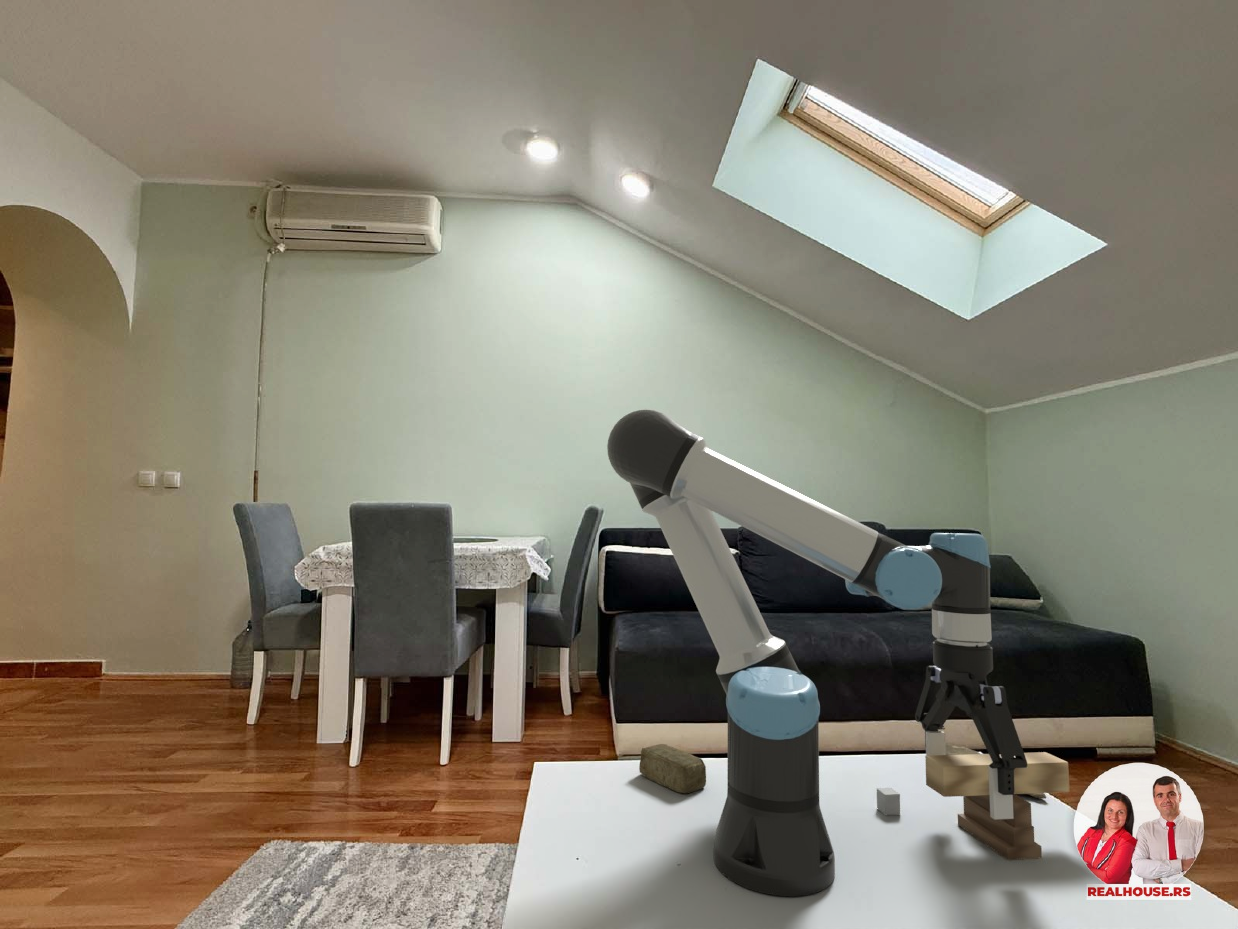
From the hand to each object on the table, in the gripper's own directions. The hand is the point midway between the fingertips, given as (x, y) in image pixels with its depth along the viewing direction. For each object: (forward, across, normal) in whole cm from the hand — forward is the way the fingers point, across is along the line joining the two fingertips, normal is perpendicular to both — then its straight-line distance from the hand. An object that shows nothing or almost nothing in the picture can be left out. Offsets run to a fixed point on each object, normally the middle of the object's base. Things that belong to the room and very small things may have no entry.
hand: (966, 796), depth 89 cm
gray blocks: (+6, +10, -2) cm, 12 cm away
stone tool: (+7, +24, -19) cm, 31 cm away
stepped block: (+6, 0, -4) cm, 8 cm away
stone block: (+7, +24, +37) cm, 45 cm away
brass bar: (-1, 0, -5) cm, 5 cm away
